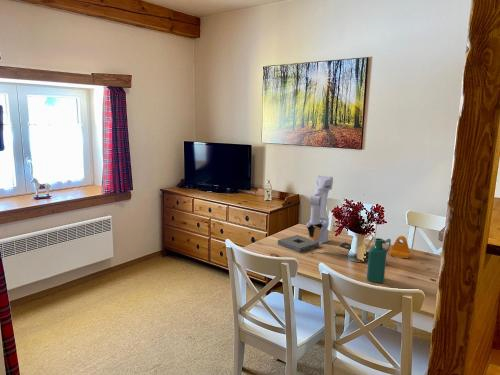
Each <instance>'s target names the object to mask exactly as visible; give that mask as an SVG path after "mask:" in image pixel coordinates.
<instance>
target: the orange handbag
mask: <svg viewBox="0 0 500 375" xmlns="http://www.w3.org/2000/svg"><path fill="white" fill-rule="evenodd" d="M400 240H401V241H402V242H401V241H400ZM388 251H389V255H390V256H393V258H396V257H397V258H396V259H401V258H403V259H408V258H409V257H410V255H411V251H410V248H409V244H408V240H407V238H406V236H404V235H399V236H397V238H396V240H395V241H394V243H393V245H392V247H391V249H389V250H388Z"/></svg>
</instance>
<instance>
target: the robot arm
mask: <svg viewBox="0 0 500 375" xmlns="http://www.w3.org/2000/svg"><path fill="white" fill-rule="evenodd" d="M333 182H334V177H333V176H327V175H318V176H317V178H316V184H317V185H316V186H317V187H316V189H315V190H314V192H313V195H311V196H310V200H309V202H310V220H308V222H306V223H305V227H306V228H307V230H308V236H309V235H310V237H313V235H314V230H315V228H316V227H319V228H320V232H319V240H318V241H317V242H319V245H322V244H325V243H327V242H330V240H329V229H328V228H329V224H330V223H329V222H330V221H329V220H330V218H329V216H328V215H327V214H326V211H327V204H328V195H329V191H330V190H333V189H332V188H333V184H334V183H333ZM313 226H316V227H313Z"/></svg>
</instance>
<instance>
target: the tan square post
mask: <svg viewBox="0 0 500 375" xmlns="http://www.w3.org/2000/svg"><path fill="white" fill-rule="evenodd" d="M313 227H316V226H313ZM319 232H320V228H319V227H316V228H315V230H314V235H313V237H310V235H309V234H308V239H309V240H312V241H318V240H319Z"/></svg>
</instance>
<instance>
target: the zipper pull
mask: <svg viewBox="0 0 500 375" xmlns="http://www.w3.org/2000/svg"><path fill="white" fill-rule="evenodd" d="M351 245H352V244H351V243H348V242H346V241H345V242H342V243H340V244H339V248H343V249H346V250H348V251H350V249H351ZM365 251H366V254H365V253H364V256H366V258H363V259H364V262H363V263H366V264H368V257H369V251H367V250H365Z"/></svg>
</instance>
